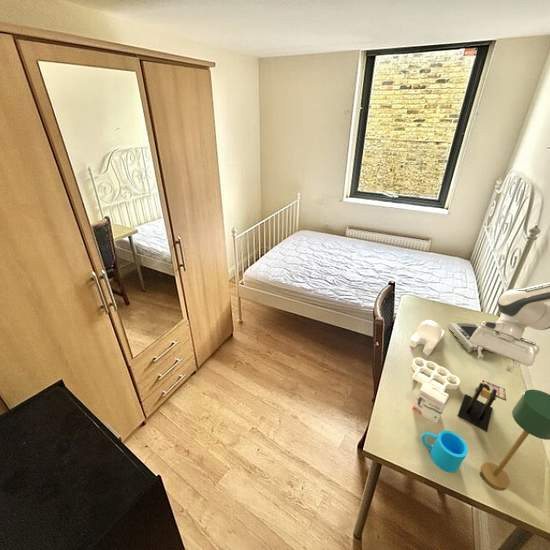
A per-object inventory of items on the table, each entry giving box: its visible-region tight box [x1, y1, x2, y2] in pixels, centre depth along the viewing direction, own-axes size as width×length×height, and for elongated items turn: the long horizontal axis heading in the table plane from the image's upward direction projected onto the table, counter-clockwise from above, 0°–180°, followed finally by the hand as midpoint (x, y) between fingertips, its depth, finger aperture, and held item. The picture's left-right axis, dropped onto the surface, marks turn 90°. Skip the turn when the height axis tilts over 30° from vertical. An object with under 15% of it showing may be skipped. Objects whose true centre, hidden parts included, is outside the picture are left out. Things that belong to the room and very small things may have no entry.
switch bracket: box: [457, 382, 498, 433], centre depth 103 cm, size 12×9×13 cm
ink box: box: [412, 382, 451, 424], centre depth 102 cm, size 9×5×12 cm, turn 47°
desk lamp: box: [479, 389, 550, 492], centre depth 79 cm, size 9×9×34 cm
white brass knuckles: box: [411, 357, 461, 392], centre depth 119 cm, size 3×18×15 cm
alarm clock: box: [447, 321, 481, 353], centre depth 140 cm, size 17×5×16 cm
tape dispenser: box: [408, 319, 446, 356], centre depth 137 cm, size 10×18×11 cm, turn 135°
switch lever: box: [479, 384, 491, 400], centre depth 105 cm, size 13×3×3 cm, turn 140°
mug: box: [420, 430, 469, 473], centre depth 91 cm, size 12×8×8 cm
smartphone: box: [481, 379, 507, 401], centre depth 117 cm, size 8×15×1 cm, turn 145°
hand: (493, 364), depth 111 cm, fingers open, 8 cm apart
